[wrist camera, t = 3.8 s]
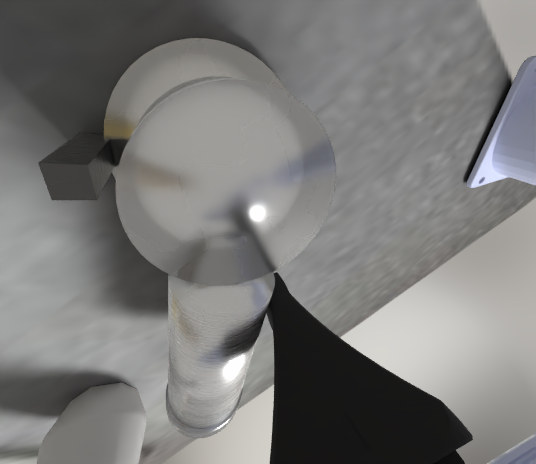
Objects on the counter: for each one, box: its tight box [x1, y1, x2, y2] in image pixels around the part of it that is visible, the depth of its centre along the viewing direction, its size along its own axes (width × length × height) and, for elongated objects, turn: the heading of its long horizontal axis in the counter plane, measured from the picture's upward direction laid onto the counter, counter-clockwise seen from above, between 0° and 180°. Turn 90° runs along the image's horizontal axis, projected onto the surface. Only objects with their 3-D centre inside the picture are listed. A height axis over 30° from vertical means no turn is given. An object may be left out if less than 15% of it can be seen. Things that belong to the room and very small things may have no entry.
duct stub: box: [39, 38, 288, 200], centre depth 9 cm, size 9×8×4 cm
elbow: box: [115, 76, 336, 438], centre depth 9 cm, size 15×6×4 cm, turn 167°
